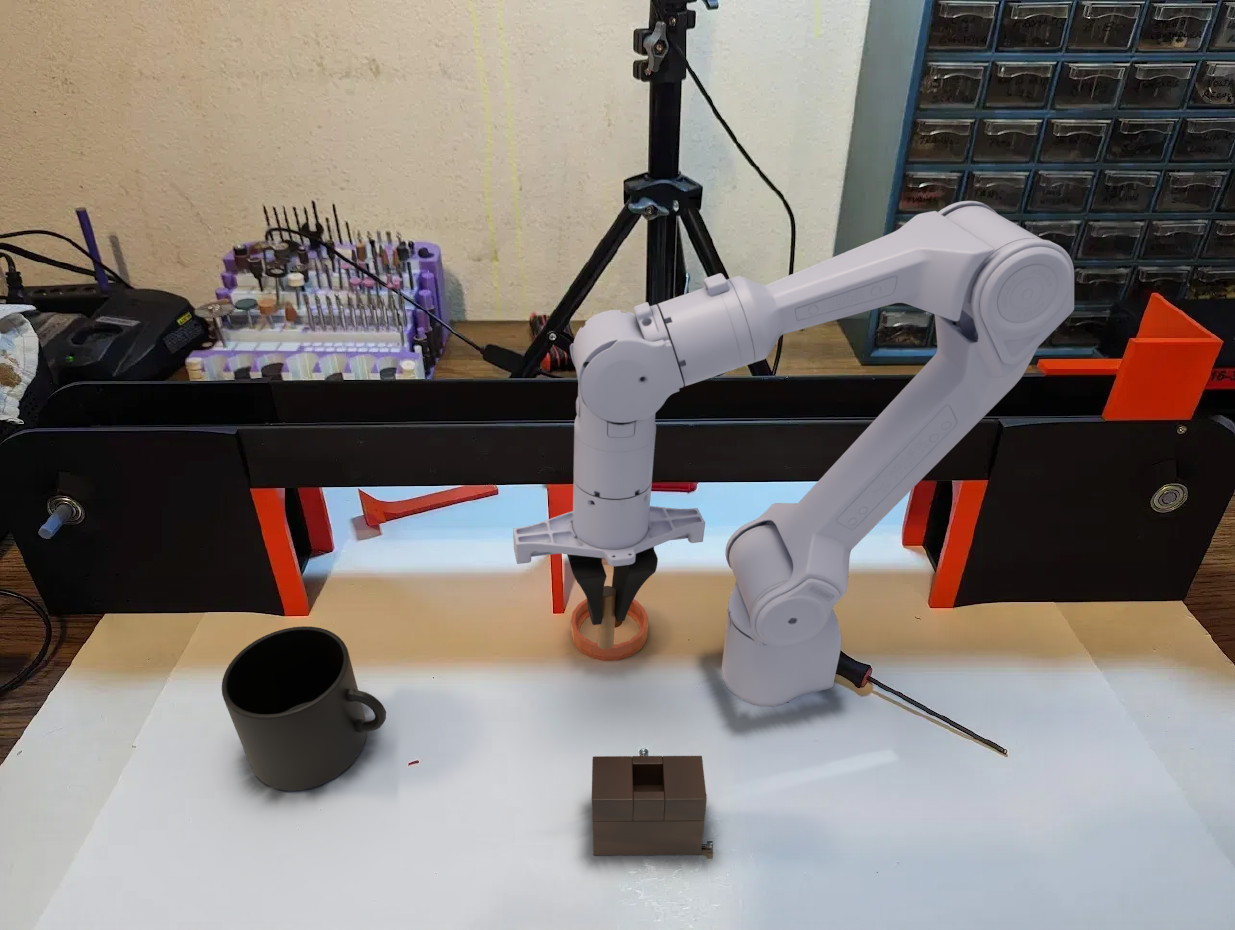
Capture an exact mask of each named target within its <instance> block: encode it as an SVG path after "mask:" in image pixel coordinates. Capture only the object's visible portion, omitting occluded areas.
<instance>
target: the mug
mask: <svg viewBox="0 0 1235 930" xmlns="http://www.w3.org/2000/svg"><path fill="white" fill-rule="evenodd" d="M222 677H223V678H222V681H221V697H222V698H223V701H224V704H225V706H226V709H227V711H228V714H229V716H230V719H231V721H232V723H233V726H234V729H235V731H236V734H237V736H238V738H239V741H240V744H241V746H242V749H243V751H244V753H245V756H246V758H247V761H248V764H249V766H250V768H251V771H252V773H253V774H254V775H255V777H256V778H257V779H258V780H259V781H261V783H264V784H265V785H266V786H269V787H271V788H274V789H277V790H282V791H303V790H308V789H312V788H316V787H318V786H321V785H323V784H325V783H328V782H330V781H331V780H333V779H335V778H336V777H338V776H340V775H341V774H342V773H343V772H345V770H347V769H348V768H349V767H350V766H351V765H352V764H353V763H354V762H355V760H356V759H357V757H358V756H359V754H360V753H361V752H362V749H363V747H364V745H365V741H366V739H367V734H368V732H373V731H375V730H378V729H379V728H381V727H382V726H383V724H384V723H385V721H386V719H387V711H386V708H385V706H384V705H383V703H381V701H380V700H379V699H378V698H377V697H375V696H373V695H372V694H370V693H368V692H366V691H363V690H359V688H358V687H359V686H358V684H357V681H356V680H357V679H356V677H355V672H354V668H353V665H352V661H351V657H350V653H349V649H348V647H347V645H346V644H345V642H344V640H342V638H341V637H340V636H339V635H337V634H335V633H334V632H332V631H330V630H328V629H325V628H322V627H317V626H308V625H307V626H292V627H288V628H283V629H279V630H276V631H273V632H271V633H267V634H265V635H264V636H261V637H260V638H258V639H256V640H255V641H253V642H251V643H250V644H248V645H247V646H246V647H244V648H243V649H242V650H240V652H238V654H237V655H235V656H234V658H233V659H232V660H231V662H230V663H229V664H228V666H227V668H226V669H225V671H224V674H223V676H222ZM363 705H365V706H367V707H368V708H370V709H371V711H372V713H373V714H374V718H373V719H369V720H367V718H366V714H365V711H364V706H363Z"/></svg>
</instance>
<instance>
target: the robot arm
mask: <svg viewBox="0 0 1235 930" xmlns="http://www.w3.org/2000/svg"><path fill="white" fill-rule="evenodd" d="M703 284H704V287H702V288H699V289H695V290H693V291H690V292H688V293H685V294H681V295H679V296H675V297H673V298H670V299H668V300H665V301H662V302H659V303H657V304H652V305H650V304H649V302H647V301H646V302H643V303H640V304H637V305H635V306H634V307H633V311H634V313H633V312H632V311H628V310H626V311H625V312H623V311H621V309H609V310H605V311H601V312H599V313H596V314H594V315H593V316H591V317H589V318H588V319H587V320H586V321H584V325H583V326H580V327H579V329H578V330H577V331H576V334H575V337H574V339H573V343H571V344H570V345H569V353H570V357H571V361H572V363H573V366H574V367H575V372H576V378H577V383H578V385H577V397H576V400H575V413H576V416H575V419H574V424H573V474H572V475H573V485H572V486H573V489H572V492H573V493H572V511H568V512H566V513H562V514H560V515H557V516H554V517H551V518H549V519H545V520H542V521H540V522H537V523H534V524H530V525H526V526H525V525H524V526H521V527H514V528H513V529H512V539H513V540H512V541H513V542H512V543H513V552H514V556H515V562H516V564H517V565H522V564H523V565H524V564H529V563H531V562H532V558H533V557H542V556H543V557H544V556H551V555H559V554H560V555H567V556H566V557H567V560H568V562H569V565H570V569H571V572H572V575H573V577H574V579H575V581H576V583H577V584H578V585H579V587H580V589H581V590H582V591H583V593H584V595H585V597H586V599H587V604H588V611H589V614H590V616H589V617H590V621H591V624H592V625H593V626H598V625H599V624H601V623H602V595H603V588H604V586H605V583H606V580H607V577H608V576H607V573H606V570H605V568H604V564H603V559H605V561H606V563H607V565H608V566H610V567H613V570H612V571H613V572H612V579H611V587H613V588H615V590H616V605H615V618H616V621H617V622H620V621H623V622H625V621H626V619H627V616H628V615H627V613H628V610H629V608H630V605H631V603H632V601H633V599H634V600H635V597H636V595H637V594H638V592H639V591H640V589H641V588H642V586H644V584H645V582H646V581H648V579H650V577H652V575H654V574H655V573H656V571H657V568H658V564H659V563H658V561H659V559H658V555H657V553H656V551H655V547H656V546H659V545H661V544H664V543H666V542H670V541H676V540H685V539H686V540H687V541H688V542H689V543H691V544H696V543H697V544H698V543H703V542H704V535H705V529H706V521H705V519H704V518H703V515H702V514H701V512H700V509H699V508H698V507H694V508H676V507H675V508H674V507H665V506H664V507H663V506H654V505H651V499H652V498H651V497H652V486H653V485H652V484H653V471H654V461H655V460H654V458H655V445H656V435H657V423H656V413H657V412H658V411H659V410H661V408H662V407H663V406H664V405H665V402H666V401H667V400H668V398H669V397H670V396H671V395H673V394H675V393H678V392H680V389H682V388H684V387H687V386H691V385H693V384H696V383H699V382H702V381H706V380H708V379H710V378H711V379H712V378H714V377H716V376H720V375H723V374H726V373H728V372H732V371H735V370H738V369H740V368H742V367H746V366H749V365H752V364H754V363H758V362H760V361H764V360H766V359H767V358H768V356H770V354H771V352H772V351H773V348H774V347H775V346H776V344H777V342H778V341H779V339H780V337H781V336H783V335H787V334H790V333H793V332H797V331H800V330H805V329H808V328H811V327H815V326H818V325H819V326H820V325H822V324H825V323H829V322H833V321H836V320H841V319H844V318H847V317H851V316H854V315H858V314H862V313H865V312H869V311H872V310H877V309H879V308H884V307H887V306H890V305H894V304H900V303H901V304H905V305H909V306H911V307H913V308H917V309H920V310H922V311H925V312H928V313H930V314H933V315H934V321H935V334H936V345H937V347H936V349H937V350H936V353H935V354H934V355H933V356H932V358H931V359H929V361H928V362H927V363H925V365H923V367H922V368H921V369H920V370H919V371H918V372H917V374H916V375H915V376H914V377H913V378H912V379H911V380H910V381H909V383H907V384H906V385H905V387H903V389H901V391H900V392H899V393H898V394H897V395H896V396H895V397H894V399H892V401H891V402H890V403H889V404H888V405H887V406H886V407H885V408H884V409H883V410H882V412H881V413H879V414H878V416H877V417H876V418H875V419H874V420H873V421H872V422H871V423H870V424H869V426H868V427H867V428H866V429H865V430H864V431H863V432H862V433H861V434H860V435H859V436H858V438H857V439H856V440H855V441H854V442H853V443H852V444H851V445H850V446H849V447H848V448H847V449H846V451H844V453H842V455H841V456H840V457H839V458H838V459H837V460H836V461H835V462H834V463H833V465H831V467H830V468H829V469H828V470H827V471H826V472H825V473H824V474H823V475H822V477H821V478H820V479H819V480H817V482H816V483H815V484H814V485H813V486H812V487H811V488H810V490H809V491H807V493H805V495H804V496H803V497H802V498H801V499H800V500H799V501H798V502H796V503H795V502H794V503H793V502H791V503H788V502H774V503H772V504H771V505H770V506H769V507H768V509H766V511H764V513H762V514H761V515H760V516H759V517H757V518H755V519H753V520H751V521H748V522H746V523H745V524H743V525H742V526H740V527H739V528H737V529H736V530H735V531H734V532H733V533H732V535H731V536H730V537H729V539H728V540H727V543H726V545H725V552H724V553H725V554H724V555H725V559H726V560H725V561H726V562H727V565H728V567H729V568H730V569H731V570H732V573H733V576H734V579H735V581H734V586H733V589H732V591H731V593H730V596H729V598H728V602H727V603H728V605H727V614H726V625H725V633H724V644H723V652H722V663H721V677H722V680H723V682H724V684H725V686H726V687H727V689H728V690H729V691H730V692H731V693H732V694H733V695H734V696H735V697H736V698H738V699H740V700H742V701H744V702H745V703H748V704H750V705H754V706H759V707H778V706H782V705H784V704H787V703H789V702H791V701H793V700H794V699H796V698H798V697H800V696H801V697H802V696H804V695H807V694H811V693H815V692H821V691H825V690H829V689H832V688H834V683H835V679H836V674H837V669H838V664H839V660H840V654H841V652H842V651H841V650H842V635H841V627H840V624H839V620H838V617H837V615H836V612H835V610H834V607H835V605H837V604H838V602H839V601H841V599H842V598H843V597H844V596H845V595H847V591H848V586H849V573H850V557H851V551H852V550H853V549H854V548H855V547H856V546H857V545H858V544H859V543H860V542H861V541H862V540H863V539H864V538H866V536H867V535H868V534H870V532H871V531H872V530H873V529H874V528H875V527H876V526H877V525H878V524H879V523H880V522H881V521H882V520H883V519H884V518H885V517H887V515H888V514H889V513H890V512H891V511H892V510H893V509H894V508H895V507H896V506H897V505H898V504H899V503H900V502H901V501H902V500H903V499H904V498H905V497H906V496H907V495H908V494H909V493H910V492H911V491H912V490H913V489H914V488H915V487H916V486H917V485H918V483H920V481H922V480H923V479H924V478H925V477H926V476H927V474H928V473H929V472H930V471H931V470H933V468H935V466H937V465H938V464H939V463H940V462H941V461H942V460H943V458H944V457H946V455H947V454H948V453H950V452H951V450H953V448H955V446H957V444H959V443H960V441H961V440H962V439H963V438H965V436H967V434H969V432H970V431H972V429H973V428H974V427H976V425H977V424H978V423H979V422H981V420H982V419H983V418H984V417H985V416H986V415H987V414H988V413H990V411H991V410H992V409H994V407H995V406H997V404H998V403H999V402H1000V401H1001V400H1002V399H1003V398H1004V397H1005V396H1006V395H1007V394H1008V393H1009V392H1010V391H1011V390H1012V389H1013V388H1014V387H1015V386H1016V385H1017V383H1018V382H1019V381H1020V380H1021V379H1022V378H1023V376H1024V374H1025V372H1027V369H1028V367H1029V366H1030V363H1031V362H1032V359H1033V357H1034V356H1035V354H1036V352H1037V350H1038V348H1039V346H1040V345H1041V344H1043V343H1044V341H1046V340H1047V338H1048V337H1049V336H1050V335H1051V334H1052V333H1053V332H1054V331H1055V330H1056V329H1057V328H1058V327H1059V326H1060V325H1061V324H1062V323H1063V322H1064V321H1066V319H1067V318H1068V317H1069V316H1070V315H1071V314H1072V313H1073V312H1074V311H1075V269H1074V263H1073V260H1072V259H1071V256H1070V254H1069V253H1068V252H1067V251H1066V249H1064V248H1063V247H1062V246H1061V245H1059V244H1057V243H1054V242H1052V240H1049V239H1043V238H1041V237H1039V236H1038V235H1035V234H1034V233H1032V232H1031V231H1029V230H1027V229H1025V228H1023V227H1022V226H1020V225H1018V224H1016V223H1015V222H1013V221H1011V220H1009V219H1007V218H1005V217H1003V216H1002V215H1000V214H998V213H997V212H996V210H994V209H993V208H991V207H990V206H989V205H987V204H986V203H983V202H980V201H976V200H963V201H957V202H953V203H952V204H949V205H947V206H945V207H943V208H942V209H940V210H939V211H936V210H933V211H927V212H922V213H918V214H916V215H915V216H913V217H912V218H911V219H909V220H908V221H907V222H906V223H904V224H903V225H902V226H901V227H899V228H898V229H897V230H895V231H893V232H890V233H888V234H886V235H883V236H881V237H879V238H876V239H874V240H872V241H871V240H870V241H868V242H867V243H864V244H862V245H859V246H857V247H855V248H852V249H849V250H847V251H845V252H842V253H840V254H838V255H835V256H832V257H830V258H827V259H825V260H822V261H821V262H819V263H816V264H813V265H811V266H808V267H806V268H804V269H801V270H799V271H797V272H794V273H792V274H789V275H787V276H784V277H781V278H780V279H777V280H775V281H772V282H769V283H767V284H761V283H758V282H756V281H753V280H751V279H749V278H747V277H746V276H743V275H736V276H733V277H731V278H727V279H726V277H725V276H724V274H723V273H721V272H720V273H717V274H716V273H715V274H714V275H711V276H707V277H704V279H703Z"/></svg>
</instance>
